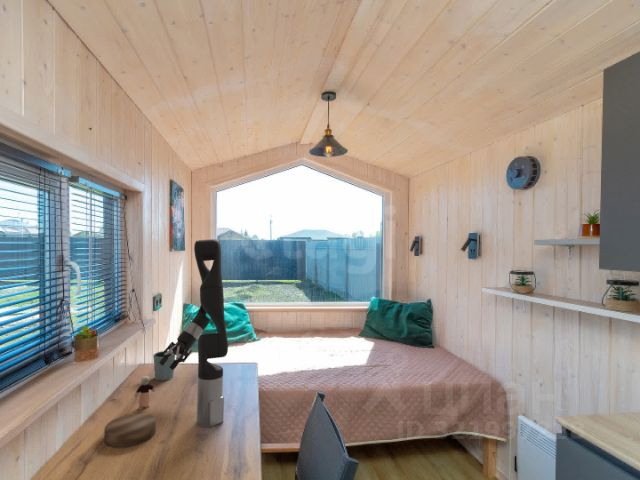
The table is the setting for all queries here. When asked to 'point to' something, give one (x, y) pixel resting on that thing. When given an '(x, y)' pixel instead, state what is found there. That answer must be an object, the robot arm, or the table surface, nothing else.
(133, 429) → the walnut plinth
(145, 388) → the grandmother figurine
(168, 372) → the grey-green cup
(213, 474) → the table surface
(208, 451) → the table surface
